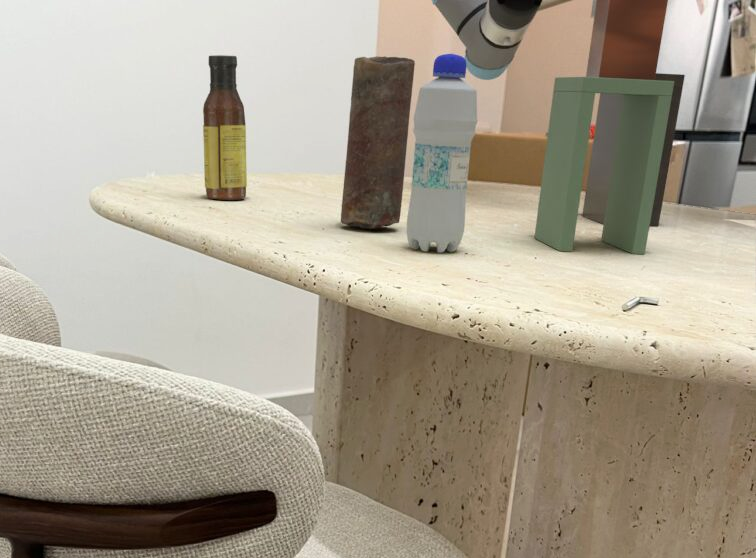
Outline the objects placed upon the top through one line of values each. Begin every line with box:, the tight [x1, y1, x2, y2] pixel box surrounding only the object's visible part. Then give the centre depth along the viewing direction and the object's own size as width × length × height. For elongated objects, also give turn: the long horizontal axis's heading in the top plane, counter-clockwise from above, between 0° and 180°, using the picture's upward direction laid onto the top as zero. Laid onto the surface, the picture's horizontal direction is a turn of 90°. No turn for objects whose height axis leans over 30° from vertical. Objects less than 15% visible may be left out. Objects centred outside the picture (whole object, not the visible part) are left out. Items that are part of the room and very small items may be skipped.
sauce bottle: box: [202, 54, 248, 201], centre depth 138 cm, size 7×6×20 cm
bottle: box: [406, 53, 478, 254], centre depth 101 cm, size 7×7×20 cm
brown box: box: [585, 0, 669, 80], centre depth 109 cm, size 6×18×11 cm, turn 174°
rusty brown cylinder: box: [340, 56, 416, 230], centre depth 114 cm, size 8×7×20 cm
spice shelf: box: [581, 72, 686, 227], centre depth 134 cm, size 8×9×20 cm
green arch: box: [534, 76, 674, 255], centre depth 109 cm, size 10×10×18 cm
